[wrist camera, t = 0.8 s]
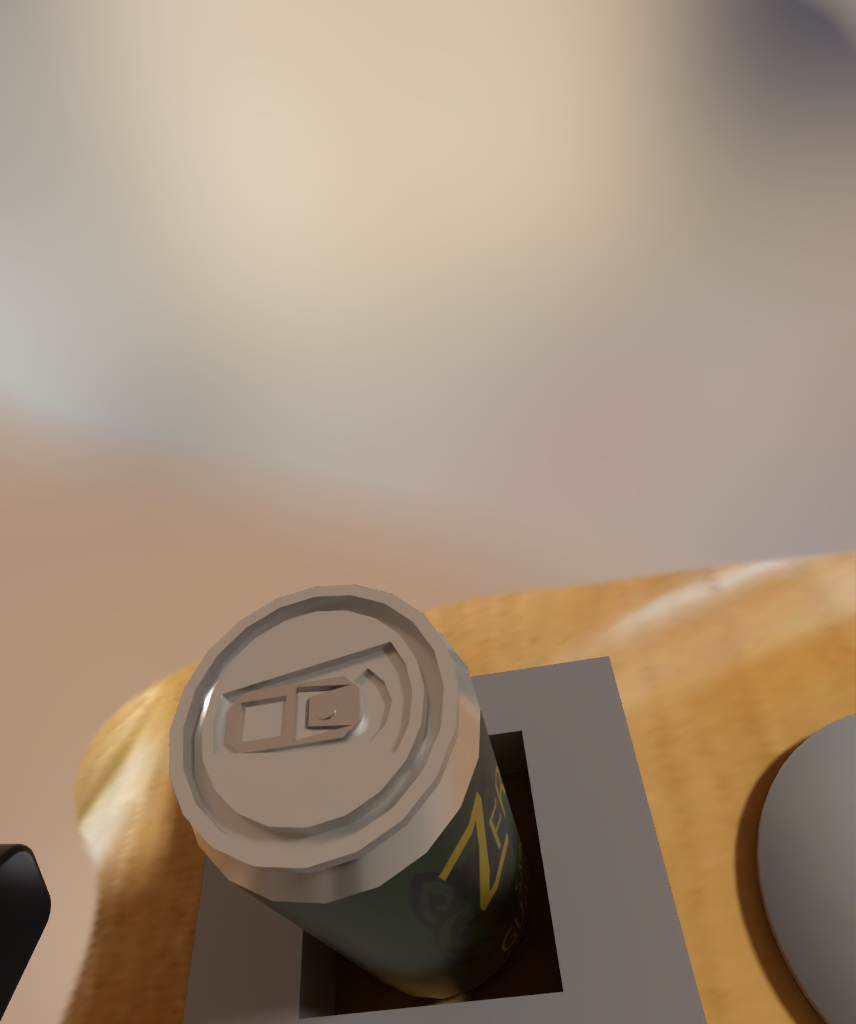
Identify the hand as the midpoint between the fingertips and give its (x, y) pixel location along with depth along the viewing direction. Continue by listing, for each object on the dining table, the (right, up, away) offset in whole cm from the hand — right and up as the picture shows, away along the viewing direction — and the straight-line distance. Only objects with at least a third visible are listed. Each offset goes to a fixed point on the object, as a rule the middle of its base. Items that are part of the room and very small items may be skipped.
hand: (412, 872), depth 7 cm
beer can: (+1, -7, +13) cm, 15 cm away
